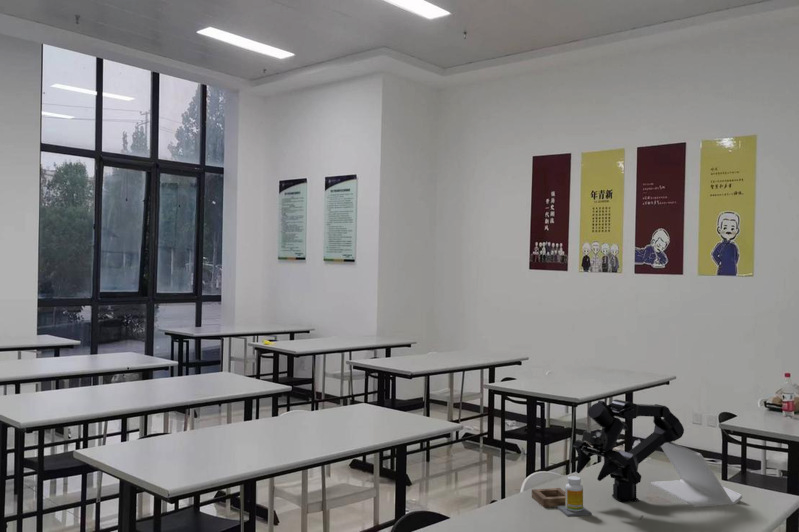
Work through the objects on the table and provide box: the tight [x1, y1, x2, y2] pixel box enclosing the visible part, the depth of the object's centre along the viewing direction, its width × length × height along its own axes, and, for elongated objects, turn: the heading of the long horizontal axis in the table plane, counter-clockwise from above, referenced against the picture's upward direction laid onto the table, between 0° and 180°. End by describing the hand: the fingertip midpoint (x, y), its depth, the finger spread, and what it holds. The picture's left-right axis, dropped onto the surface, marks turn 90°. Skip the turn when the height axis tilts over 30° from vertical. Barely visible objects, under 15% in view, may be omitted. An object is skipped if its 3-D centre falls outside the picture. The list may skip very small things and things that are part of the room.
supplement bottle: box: [564, 475, 584, 512], centre depth 209 cm, size 5×5×10 cm
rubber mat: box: [556, 505, 593, 517], centre depth 209 cm, size 8×8×1 cm
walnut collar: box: [531, 487, 565, 508], centre depth 218 cm, size 10×10×2 cm
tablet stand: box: [650, 442, 743, 508], centre depth 228 cm, size 18×25×17 cm
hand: (587, 476), depth 213 cm, fingers open, 9 cm apart
